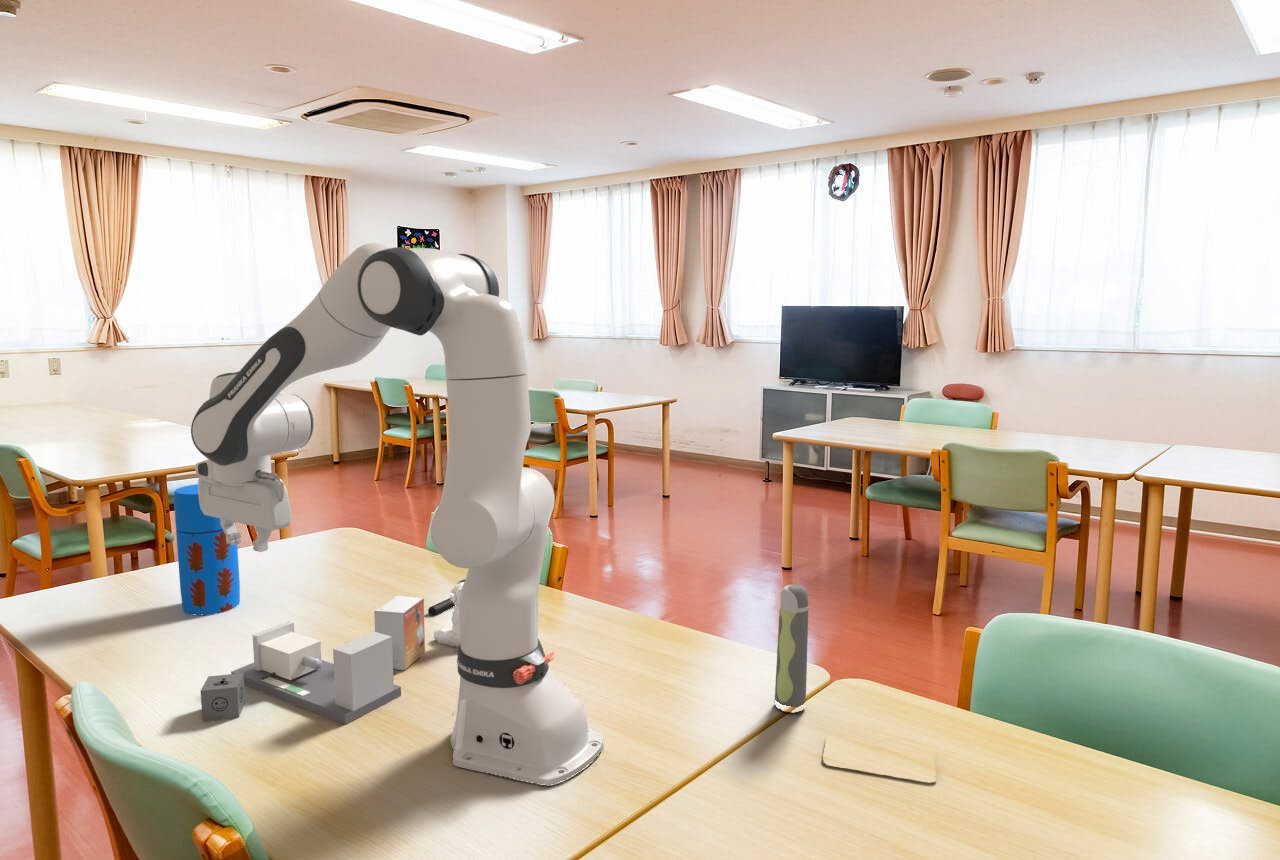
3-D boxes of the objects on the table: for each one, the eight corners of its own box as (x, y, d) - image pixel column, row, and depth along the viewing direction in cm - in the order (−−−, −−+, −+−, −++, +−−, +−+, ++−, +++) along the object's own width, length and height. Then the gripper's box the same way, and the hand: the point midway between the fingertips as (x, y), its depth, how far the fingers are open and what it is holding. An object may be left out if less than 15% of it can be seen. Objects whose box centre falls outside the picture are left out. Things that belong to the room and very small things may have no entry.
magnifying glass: (408, 612, 169) (407, 601, 169) (479, 580, 190) (478, 571, 190) (456, 622, 164) (456, 612, 163) (523, 588, 185) (523, 579, 185)
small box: (405, 671, 141) (403, 613, 139) (375, 668, 142) (373, 610, 140) (426, 652, 148) (424, 597, 147) (397, 650, 149) (396, 594, 148)
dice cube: (202, 722, 123) (200, 690, 122) (210, 706, 128) (208, 676, 127) (239, 718, 124) (237, 687, 124) (245, 702, 129) (243, 672, 128)
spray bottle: (786, 697, 133) (791, 579, 130) (811, 707, 129) (817, 586, 127) (768, 707, 130) (772, 586, 127) (793, 718, 126) (798, 594, 123)
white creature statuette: (479, 629, 159) (479, 570, 158) (497, 644, 152) (497, 583, 150) (432, 639, 154) (431, 578, 152) (448, 656, 147) (447, 592, 145)
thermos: (251, 603, 171) (244, 487, 168) (201, 619, 162) (192, 496, 159) (221, 593, 177) (214, 480, 173) (171, 608, 168) (162, 489, 164)
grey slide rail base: (231, 680, 136) (227, 620, 135) (289, 656, 146) (286, 600, 144) (345, 724, 122) (342, 658, 121) (401, 695, 132) (399, 633, 130)
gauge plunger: (244, 673, 135) (241, 638, 134) (291, 654, 142) (289, 621, 141) (289, 690, 129) (287, 654, 128) (336, 669, 136) (334, 635, 135)
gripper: (299, 471, 134) (302, 552, 137) (223, 458, 145) (228, 534, 147) (264, 477, 129) (269, 562, 131) (188, 464, 139) (194, 542, 141)
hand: (247, 547), depth 139 cm, fingers open, 6 cm apart
